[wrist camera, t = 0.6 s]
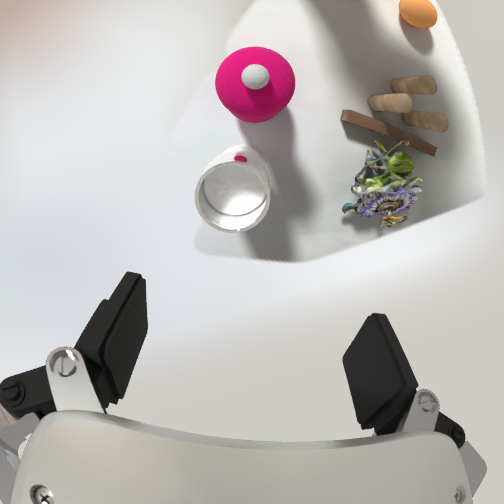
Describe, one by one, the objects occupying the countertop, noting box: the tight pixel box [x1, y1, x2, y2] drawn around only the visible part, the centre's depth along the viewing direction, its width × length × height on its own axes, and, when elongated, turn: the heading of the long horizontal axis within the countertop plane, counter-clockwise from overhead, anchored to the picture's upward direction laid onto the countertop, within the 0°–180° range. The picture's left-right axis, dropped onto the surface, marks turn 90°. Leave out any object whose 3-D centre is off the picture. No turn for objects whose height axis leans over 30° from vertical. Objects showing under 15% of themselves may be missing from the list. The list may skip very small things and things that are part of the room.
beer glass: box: [195, 145, 271, 233], centre depth 30 cm, size 7×7×15 cm
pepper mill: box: [215, 47, 295, 123], centre depth 23 cm, size 7×7×20 cm
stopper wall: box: [341, 110, 437, 156], centre depth 31 cm, size 2×15×3 cm, turn 78°
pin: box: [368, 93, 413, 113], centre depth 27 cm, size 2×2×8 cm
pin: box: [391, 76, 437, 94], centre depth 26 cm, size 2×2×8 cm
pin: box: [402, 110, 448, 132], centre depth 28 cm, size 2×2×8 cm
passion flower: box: [342, 140, 422, 227], centre depth 33 cm, size 11×11×12 cm
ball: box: [399, 0, 437, 29], centre depth 20 cm, size 6×6×6 cm
